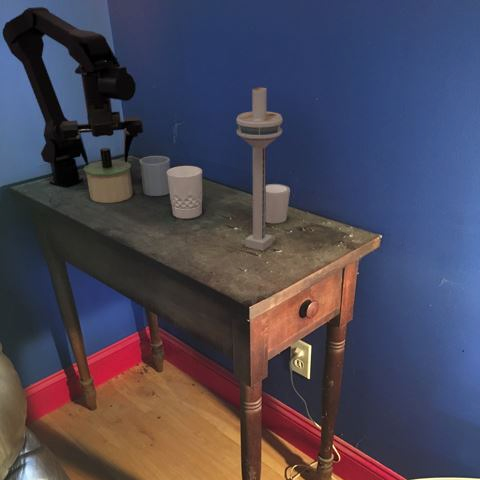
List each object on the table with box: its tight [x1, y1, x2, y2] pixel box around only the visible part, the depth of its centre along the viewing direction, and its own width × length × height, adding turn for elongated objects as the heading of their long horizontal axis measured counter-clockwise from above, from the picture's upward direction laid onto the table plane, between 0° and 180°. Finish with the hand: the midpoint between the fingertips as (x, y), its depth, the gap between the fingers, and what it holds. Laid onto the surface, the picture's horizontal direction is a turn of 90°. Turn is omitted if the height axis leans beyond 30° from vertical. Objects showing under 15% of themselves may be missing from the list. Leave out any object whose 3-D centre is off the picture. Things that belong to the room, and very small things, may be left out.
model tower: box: [235, 87, 283, 252], centre depth 107 cm, size 8×8×30 cm
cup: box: [138, 155, 172, 197], centre depth 142 cm, size 7×7×8 cm
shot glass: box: [265, 183, 291, 224], centre depth 125 cm, size 7×7×7 cm
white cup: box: [167, 165, 203, 220], centre depth 128 cm, size 8×8×10 cm
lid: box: [83, 147, 132, 176], centre depth 137 cm, size 11×11×5 cm
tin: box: [85, 169, 133, 204], centre depth 140 cm, size 10×10×7 cm
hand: (106, 163), depth 137 cm, fingers open, 9 cm apart
